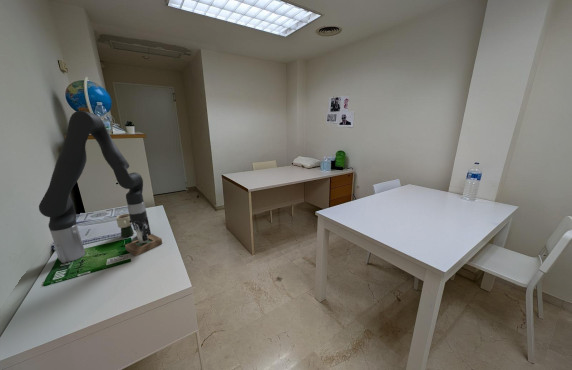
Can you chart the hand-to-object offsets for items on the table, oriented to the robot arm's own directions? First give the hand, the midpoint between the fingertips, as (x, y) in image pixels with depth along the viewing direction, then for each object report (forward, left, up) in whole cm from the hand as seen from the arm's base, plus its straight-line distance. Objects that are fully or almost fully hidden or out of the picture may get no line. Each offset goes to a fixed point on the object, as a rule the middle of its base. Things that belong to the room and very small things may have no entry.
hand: (143, 239), depth 115 cm
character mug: (+1, +22, -5) cm, 23 cm away
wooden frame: (0, 0, -5) cm, 5 cm away
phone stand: (+6, +12, -5) cm, 14 cm away
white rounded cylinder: (0, 0, -1) cm, 1 cm away
